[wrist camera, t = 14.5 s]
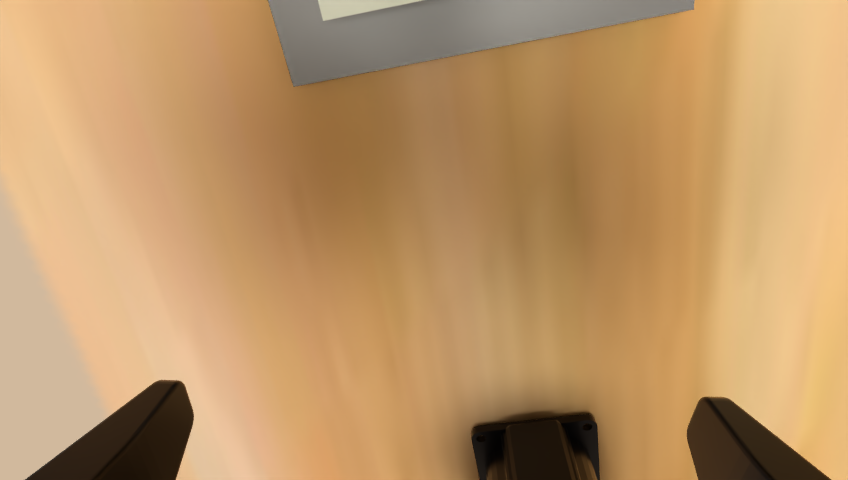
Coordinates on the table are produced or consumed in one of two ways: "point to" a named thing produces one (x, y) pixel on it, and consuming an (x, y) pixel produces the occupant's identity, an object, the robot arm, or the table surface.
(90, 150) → the table surface
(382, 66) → the vase holder
